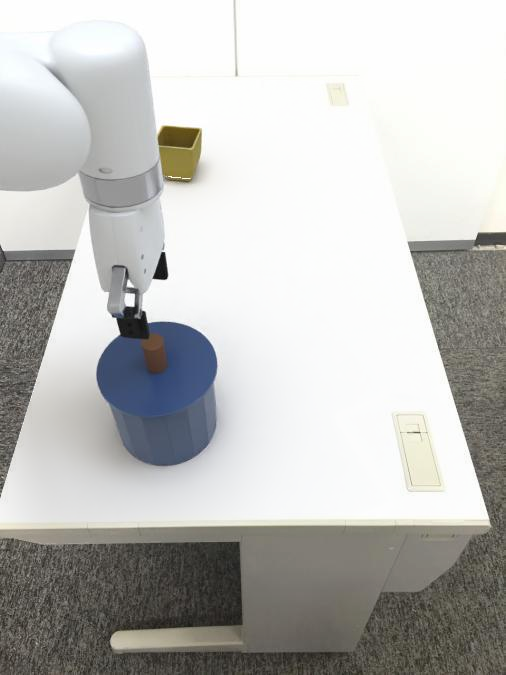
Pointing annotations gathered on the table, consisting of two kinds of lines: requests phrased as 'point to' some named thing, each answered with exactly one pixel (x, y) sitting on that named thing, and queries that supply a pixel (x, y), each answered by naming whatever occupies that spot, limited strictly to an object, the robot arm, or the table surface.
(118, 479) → the table surface
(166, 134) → the flower pot
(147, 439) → the tin
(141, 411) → the tin lid
